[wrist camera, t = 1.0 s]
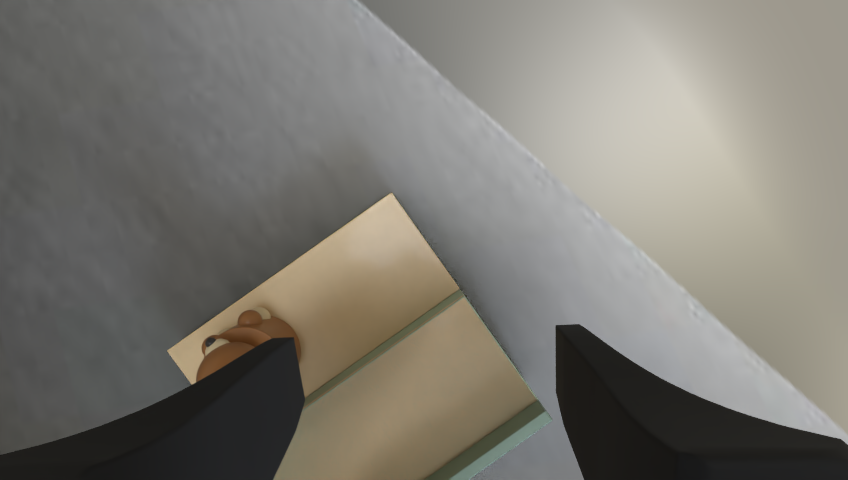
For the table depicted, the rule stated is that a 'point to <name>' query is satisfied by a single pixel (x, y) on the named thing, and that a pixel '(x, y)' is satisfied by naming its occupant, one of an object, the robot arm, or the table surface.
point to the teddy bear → (242, 339)
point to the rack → (386, 360)
